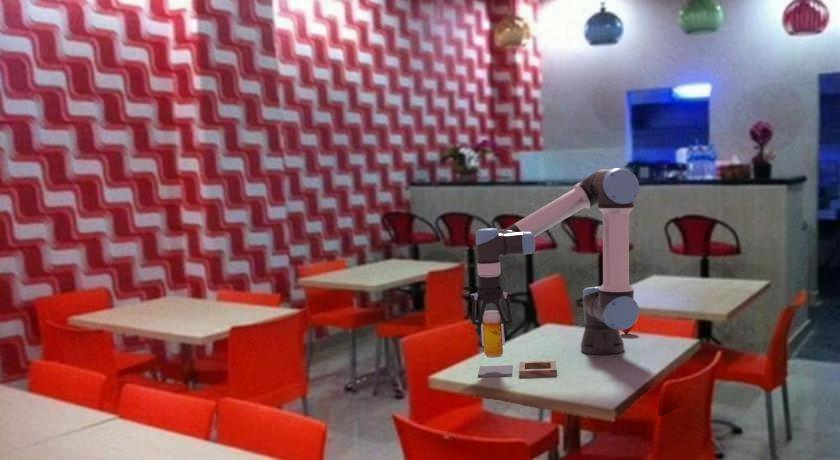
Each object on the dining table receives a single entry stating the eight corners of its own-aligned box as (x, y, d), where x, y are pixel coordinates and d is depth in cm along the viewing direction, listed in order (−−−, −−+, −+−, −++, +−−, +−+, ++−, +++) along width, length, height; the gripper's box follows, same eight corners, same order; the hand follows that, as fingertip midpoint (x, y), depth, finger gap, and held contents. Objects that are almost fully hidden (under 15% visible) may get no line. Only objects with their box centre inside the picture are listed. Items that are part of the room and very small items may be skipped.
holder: (556, 366, 259) (555, 360, 259) (557, 375, 248) (556, 369, 247) (520, 367, 261) (519, 361, 261) (519, 377, 249) (519, 371, 249)
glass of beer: (502, 358, 253) (499, 312, 252) (483, 358, 255) (481, 313, 254) (504, 353, 259) (501, 309, 258) (485, 353, 261) (483, 309, 260)
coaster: (512, 367, 262) (512, 365, 262) (511, 376, 251) (511, 373, 251) (480, 368, 264) (480, 366, 264) (477, 377, 253) (477, 374, 253)
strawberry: (619, 331, 306) (618, 306, 305) (638, 332, 301) (637, 307, 301) (614, 334, 301) (613, 309, 300) (633, 335, 297) (632, 310, 296)
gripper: (518, 272, 257) (522, 341, 259) (461, 275, 260) (466, 342, 262) (518, 275, 250) (522, 346, 252) (459, 278, 253) (464, 347, 254)
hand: (493, 344), depth 257 cm, fingers closed on glass of beer, 6 cm apart
